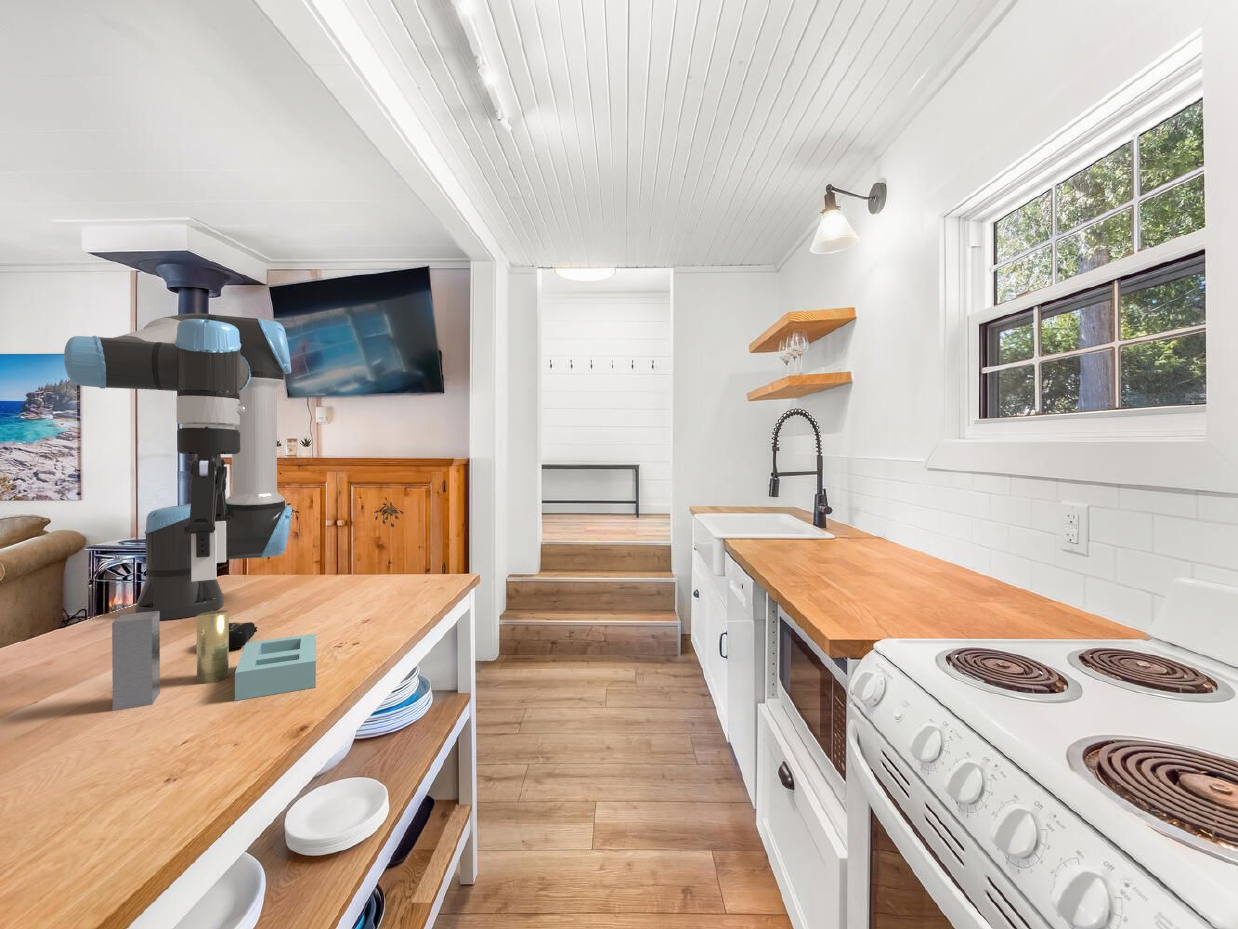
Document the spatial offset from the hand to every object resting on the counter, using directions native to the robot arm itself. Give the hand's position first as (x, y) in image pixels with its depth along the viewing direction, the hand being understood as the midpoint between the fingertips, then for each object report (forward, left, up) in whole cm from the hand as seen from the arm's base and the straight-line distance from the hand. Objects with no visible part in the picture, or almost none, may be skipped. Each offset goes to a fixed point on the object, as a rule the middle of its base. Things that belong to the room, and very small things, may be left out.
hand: (210, 571), depth 82 cm
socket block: (0, +9, -17) cm, 19 cm away
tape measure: (-20, +1, -18) cm, 27 cm away
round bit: (-4, 0, -17) cm, 18 cm away
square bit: (+1, -8, -18) cm, 19 cm away
